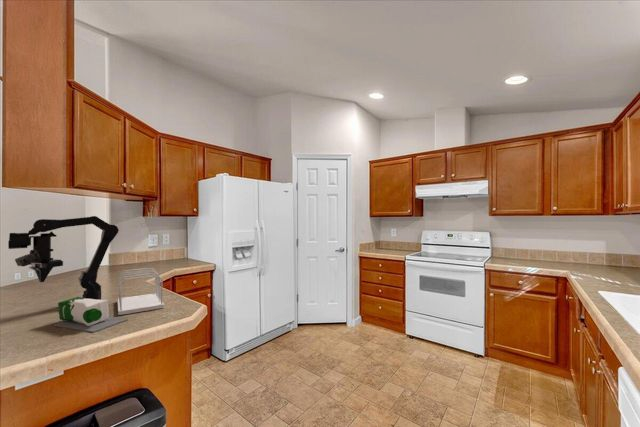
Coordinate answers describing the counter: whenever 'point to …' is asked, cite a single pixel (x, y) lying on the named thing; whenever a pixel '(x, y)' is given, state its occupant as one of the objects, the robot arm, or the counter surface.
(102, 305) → the soya milk
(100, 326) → the mat
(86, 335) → the counter surface
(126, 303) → the file sorter
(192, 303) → the counter surface
